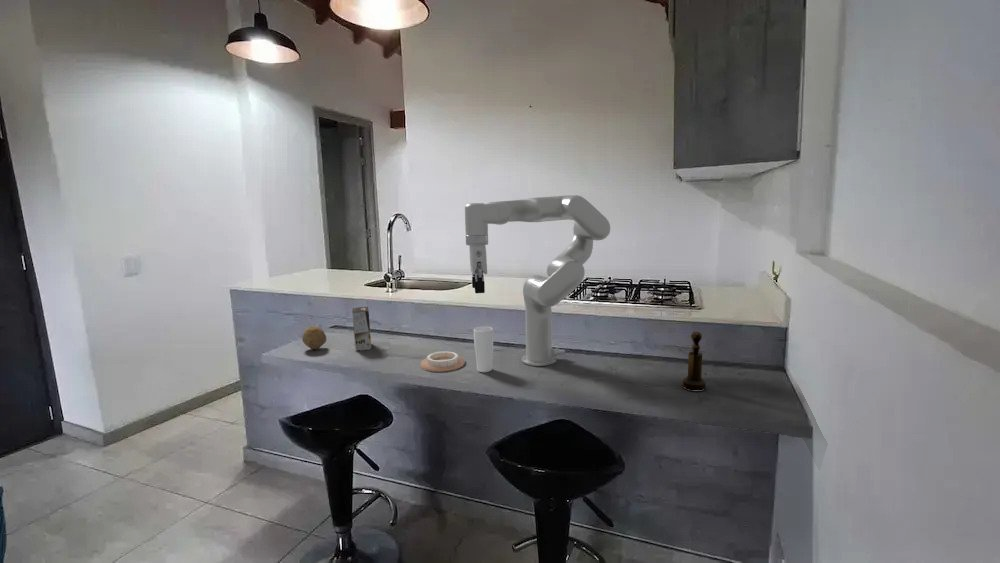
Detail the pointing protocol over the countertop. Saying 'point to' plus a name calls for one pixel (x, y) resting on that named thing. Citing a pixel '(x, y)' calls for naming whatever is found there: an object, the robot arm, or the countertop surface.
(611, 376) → the countertop surface
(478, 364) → the drinking glass
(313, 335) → the natural sponge
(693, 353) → the dark chess pawn
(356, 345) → the coffee box
